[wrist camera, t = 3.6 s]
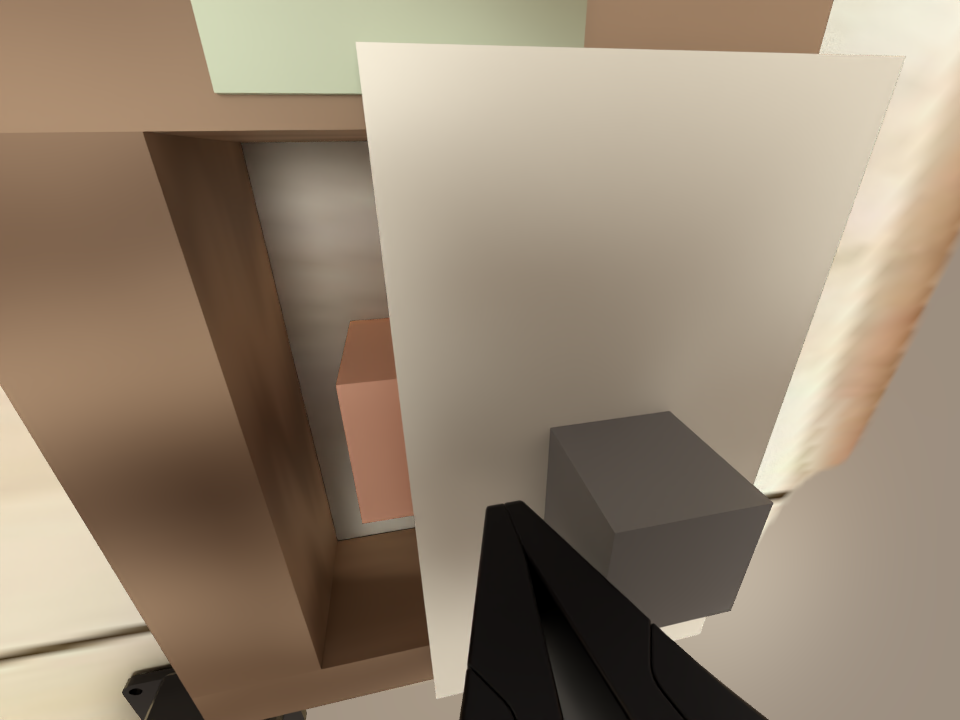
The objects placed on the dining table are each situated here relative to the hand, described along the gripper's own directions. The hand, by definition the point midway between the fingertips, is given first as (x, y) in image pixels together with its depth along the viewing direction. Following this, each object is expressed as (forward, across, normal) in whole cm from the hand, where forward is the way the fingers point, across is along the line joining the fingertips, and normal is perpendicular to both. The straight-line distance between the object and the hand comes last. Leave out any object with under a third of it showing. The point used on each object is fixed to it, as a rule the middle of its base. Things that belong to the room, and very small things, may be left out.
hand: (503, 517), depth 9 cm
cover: (+2, -3, 0) cm, 3 cm away
